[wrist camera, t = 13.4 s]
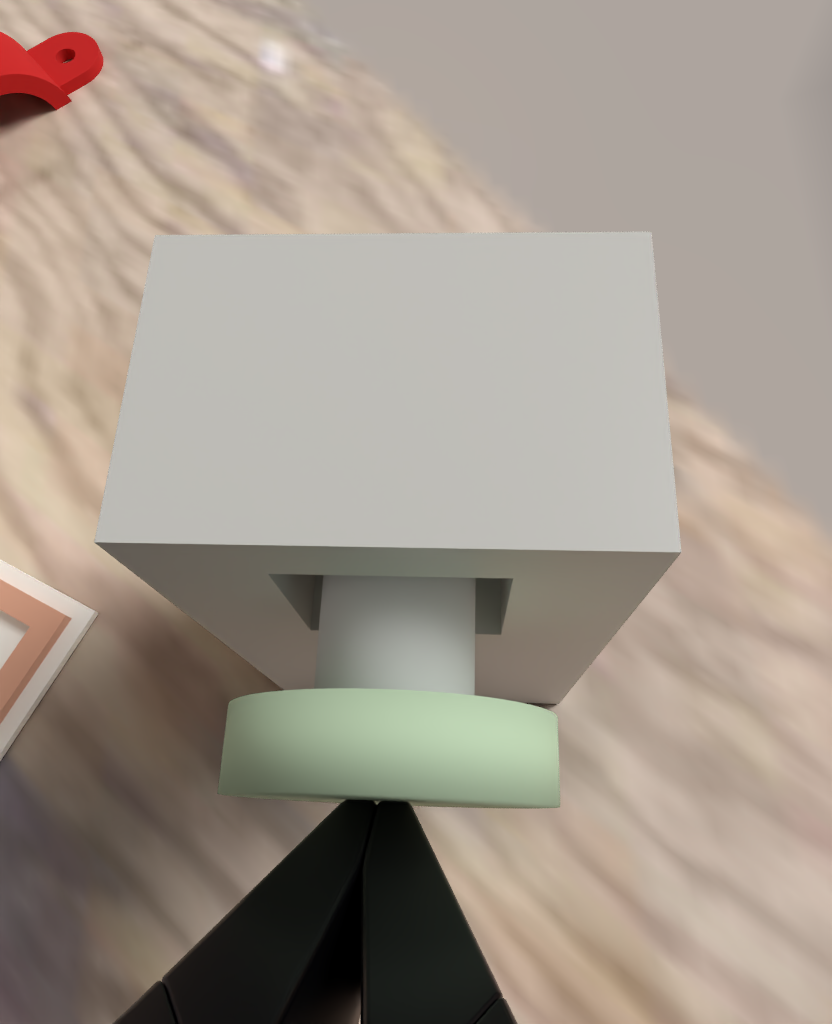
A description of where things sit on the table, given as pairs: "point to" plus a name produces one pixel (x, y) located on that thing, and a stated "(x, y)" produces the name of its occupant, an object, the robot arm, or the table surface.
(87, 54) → the pipe clamp
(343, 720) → the button
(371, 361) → the button box
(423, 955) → the robot arm
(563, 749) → the table surface
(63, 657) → the white flat square plate
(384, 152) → the table surface
